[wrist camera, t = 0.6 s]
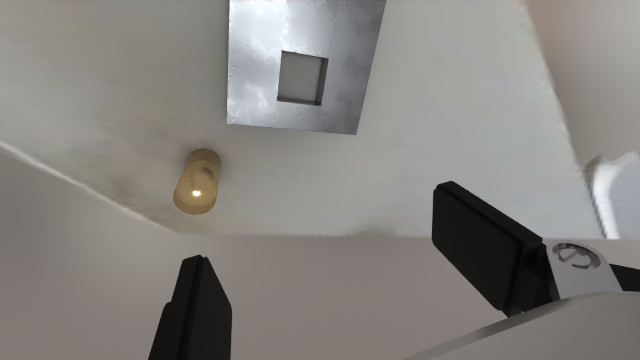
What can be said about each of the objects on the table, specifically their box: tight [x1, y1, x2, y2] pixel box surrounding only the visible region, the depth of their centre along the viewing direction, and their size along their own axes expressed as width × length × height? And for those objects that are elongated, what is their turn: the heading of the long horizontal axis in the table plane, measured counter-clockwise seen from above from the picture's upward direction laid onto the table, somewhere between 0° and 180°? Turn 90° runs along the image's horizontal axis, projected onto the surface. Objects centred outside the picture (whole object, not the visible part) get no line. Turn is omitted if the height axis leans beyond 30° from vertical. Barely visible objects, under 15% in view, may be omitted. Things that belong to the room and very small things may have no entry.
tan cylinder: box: [173, 149, 221, 215], centre depth 35 cm, size 4×4×10 cm
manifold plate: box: [227, 0, 386, 135], centre depth 33 cm, size 18×26×3 cm
